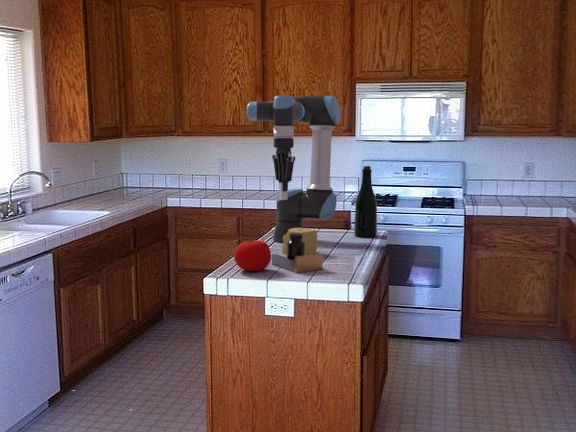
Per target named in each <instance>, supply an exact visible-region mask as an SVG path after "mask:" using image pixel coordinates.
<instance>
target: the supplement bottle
mask: <svg viewBox="0 0 576 432" xmlns="http://www.w3.org/2000/svg"><path fill="white" fill-rule="evenodd" d="M289 239H290V240H289V241H288V242H287V254H286V258H289V259H292V260H295V256H301V255H305V243H304V241H302V239H303V237H302V234H301V233H291V234H290V237H289Z"/></svg>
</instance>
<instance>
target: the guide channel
mask: <svg viewBox="0 0 576 432" xmlns="http://www.w3.org/2000/svg"><path fill="white" fill-rule="evenodd" d="M323 255H324V254H323V253H322V252H318V253H317V252H316V253H314V254H309V255H308V254H305V255H301V256H295V260H292V259H289V258H287V256H286V257H285V256H283V255H280V254H278V253H277V254H276V253H271V265H272V266H275V267H277V268H281V269H284V270H285V271H289V272H291V273H294V274H301V273H308V272H315V271H316V272H317V271H322V270H323V263H324V262H323V261H324V260H323V257H324V256H323Z"/></svg>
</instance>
